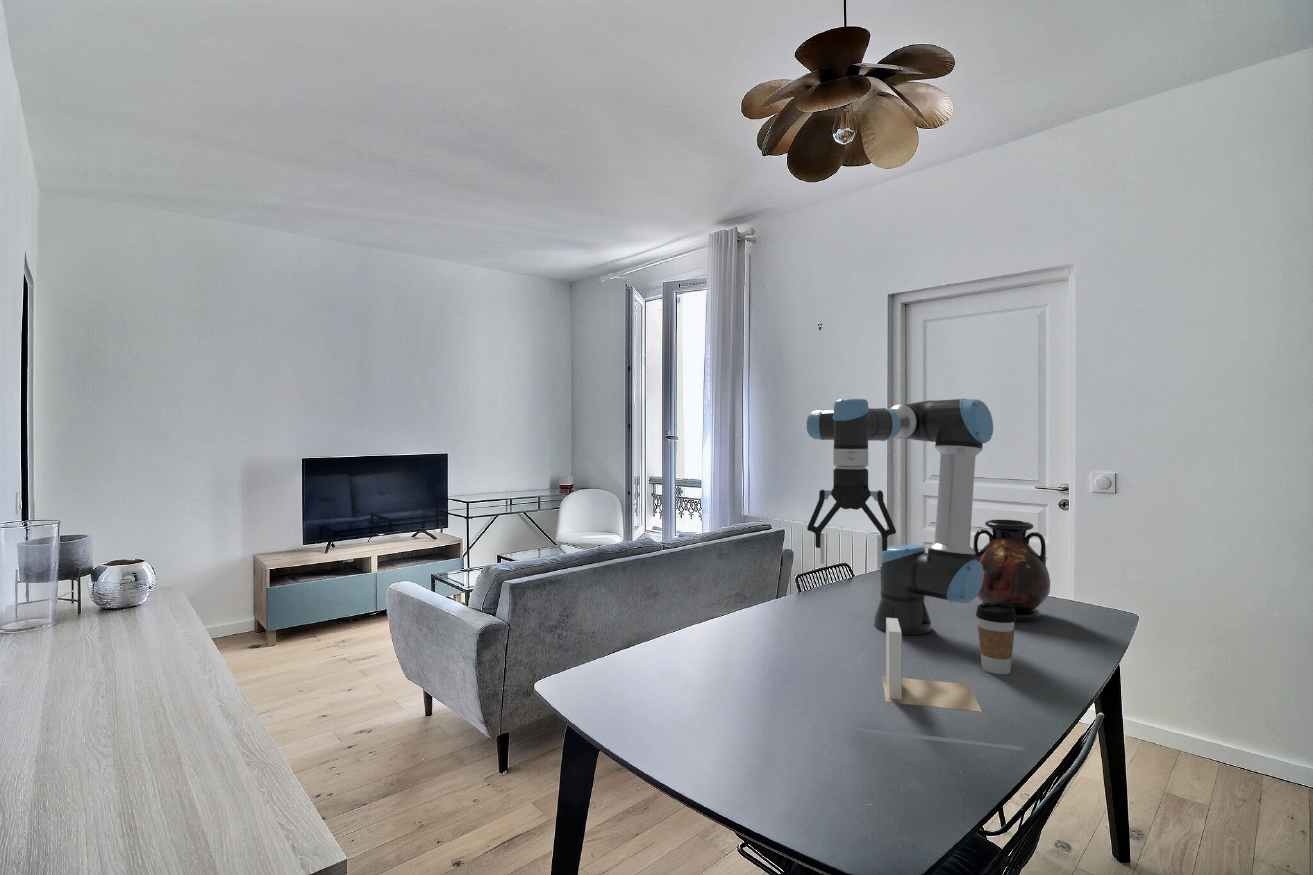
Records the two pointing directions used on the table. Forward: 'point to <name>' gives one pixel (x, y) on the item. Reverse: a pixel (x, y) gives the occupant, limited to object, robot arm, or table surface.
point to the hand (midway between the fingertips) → (850, 563)
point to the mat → (935, 694)
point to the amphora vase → (1013, 568)
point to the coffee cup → (996, 636)
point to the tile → (894, 658)
